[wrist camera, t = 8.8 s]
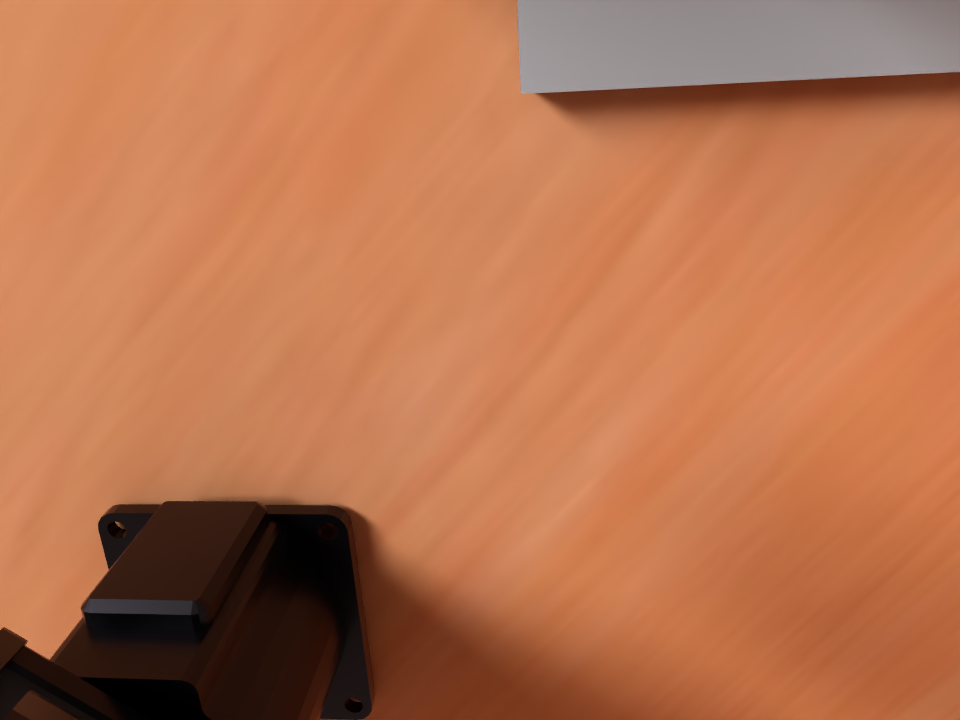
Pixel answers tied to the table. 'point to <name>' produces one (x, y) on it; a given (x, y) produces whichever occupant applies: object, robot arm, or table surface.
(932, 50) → the plate
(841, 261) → the table surface
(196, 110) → the table surface
